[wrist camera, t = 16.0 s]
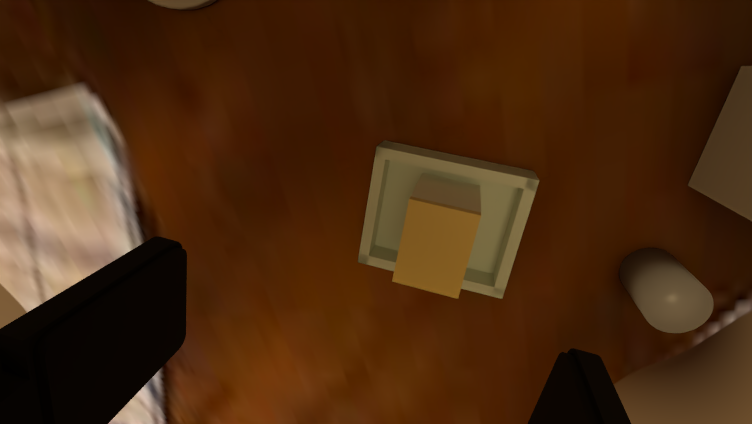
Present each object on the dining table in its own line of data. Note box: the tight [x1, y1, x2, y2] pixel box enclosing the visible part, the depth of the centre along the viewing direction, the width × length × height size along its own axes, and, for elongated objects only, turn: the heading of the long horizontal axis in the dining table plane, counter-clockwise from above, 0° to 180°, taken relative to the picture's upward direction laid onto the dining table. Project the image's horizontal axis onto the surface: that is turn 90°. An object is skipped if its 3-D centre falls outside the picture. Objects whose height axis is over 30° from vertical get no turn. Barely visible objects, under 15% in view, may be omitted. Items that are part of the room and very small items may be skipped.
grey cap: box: [619, 248, 713, 333], centre depth 30 cm, size 4×4×5 cm
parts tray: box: [358, 140, 539, 299], centre depth 33 cm, size 12×10×3 cm
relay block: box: [392, 173, 481, 299], centre depth 30 cm, size 4×6×7 cm
